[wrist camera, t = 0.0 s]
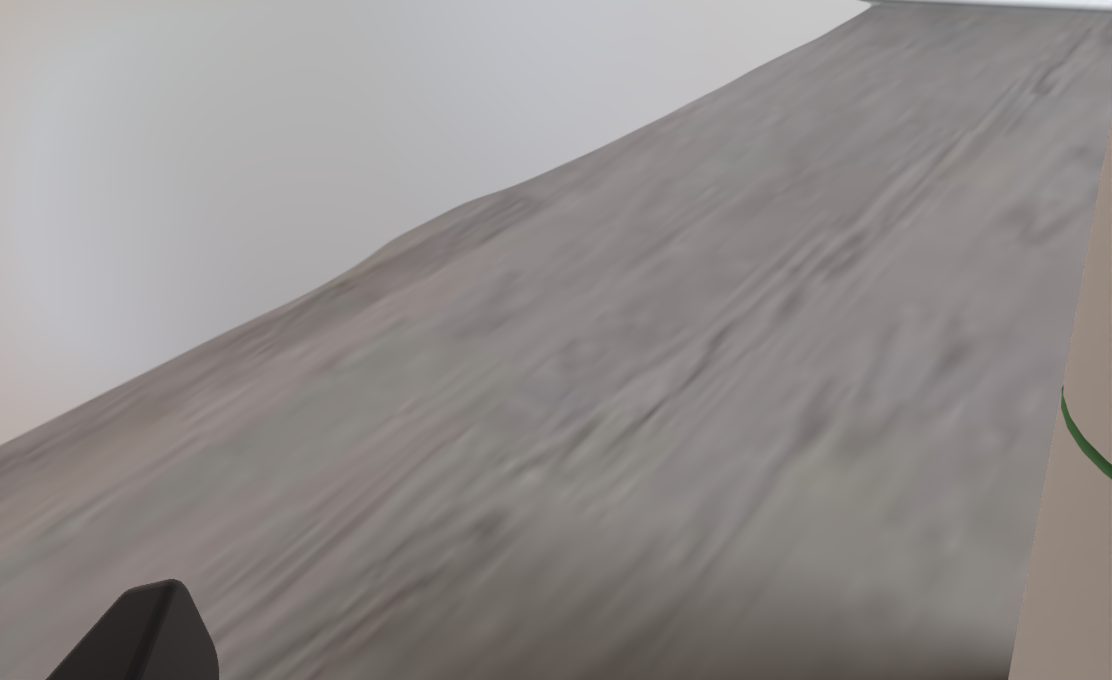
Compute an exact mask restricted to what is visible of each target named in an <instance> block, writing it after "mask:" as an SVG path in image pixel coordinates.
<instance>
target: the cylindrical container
mask: <svg viewBox="0 0 1112 680" xmlns="http://www.w3.org/2000/svg"><path fill="white" fill-rule="evenodd" d="M1008 680H1112V120H1111V125H1110V131H1109V136H1108V142H1107V147H1106V152H1105V158H1104V163H1103V169H1102V174H1101V179H1100V185H1099V190H1098V196H1097V201H1096V206H1095V212H1094V217H1093V223H1092V228H1091V234H1090V239H1089V244H1088V250H1087V255H1086V261H1085V266H1084V271H1083V277H1082V282H1081V288H1080V293H1079V298H1078V304H1077V309H1076V315H1075V320H1074V326H1073V331H1072V336H1071V342H1070V347H1069V353H1068V358H1067V363H1066V369H1065V374H1064V385H1063V387H1062V390H1061V396H1060V401H1059V407H1058V412H1057V417H1056V423H1055V428H1054V434H1053V439H1052V444H1051V450H1050V455H1049V461H1048V466H1047V472H1046V477H1045V482H1044V488H1043V493H1042V499H1041V504H1040V509H1039V515H1038V520H1037V526H1036V531H1035V536H1034V542H1033V547H1032V553H1031V558H1030V563H1029V569H1028V574H1027V580H1026V585H1025V590H1024V596H1023V601H1022V607H1021V612H1020V617H1019V623H1018V628H1017V634H1016V639H1015V644H1014V650H1013V655H1012V661H1011V666H1010V672H1009V677H1008Z"/></svg>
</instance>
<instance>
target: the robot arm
mask: <svg viewBox="0 0 1112 680" xmlns="http://www.w3.org/2000/svg"><path fill="white" fill-rule="evenodd" d="M46 680H219V666H218V659H217V653H216V650H215V646H214V644H213V642H212V639H211V637H210V635H209V633H208V631H207V629H206V627H205V625H204V623H203V621H202V618H201V616H200V614H199V612H198V610H197V608H196V606H195V604H194V602H193V599H192V597H191V595H190V593H189V591H188V589H187V588H186V587H185V585H184V584H183V583H182V582H181V581H178V580H175V579H168V580H164V581H159V582H155V583H151V584H146V585H142V586H138V587H134V588H132V589H129V590H127V591H126V592H124V593H123V594H122V595H121V596H120V597H119V598H118V599H117V600H116V601H115V603H114V604H113V605H112V606H111V607H110V608H109V609H108V610H107V612H106V613H105V614H104V615H103V616H102V617H101V618H100V619H99V621H98V622H97V623H96V624H95V625H94V626H93V627H92V628H91V629H90V631H89V632H88V633H87V634H86V635H85V636H84V637H83V638H82V640H81V641H80V642H79V643H78V644H77V645H76V646H75V647H74V649H73V650H72V651H71V652H70V653H69V654H68V655H67V656H66V658H65V659H64V660H63V661H62V662H61V663H60V664H59V665H58V666H57V668H56V669H55V670H54V671H53V672H52V673H51V674H50V675H49V677H48V678H47V679H46Z"/></svg>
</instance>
